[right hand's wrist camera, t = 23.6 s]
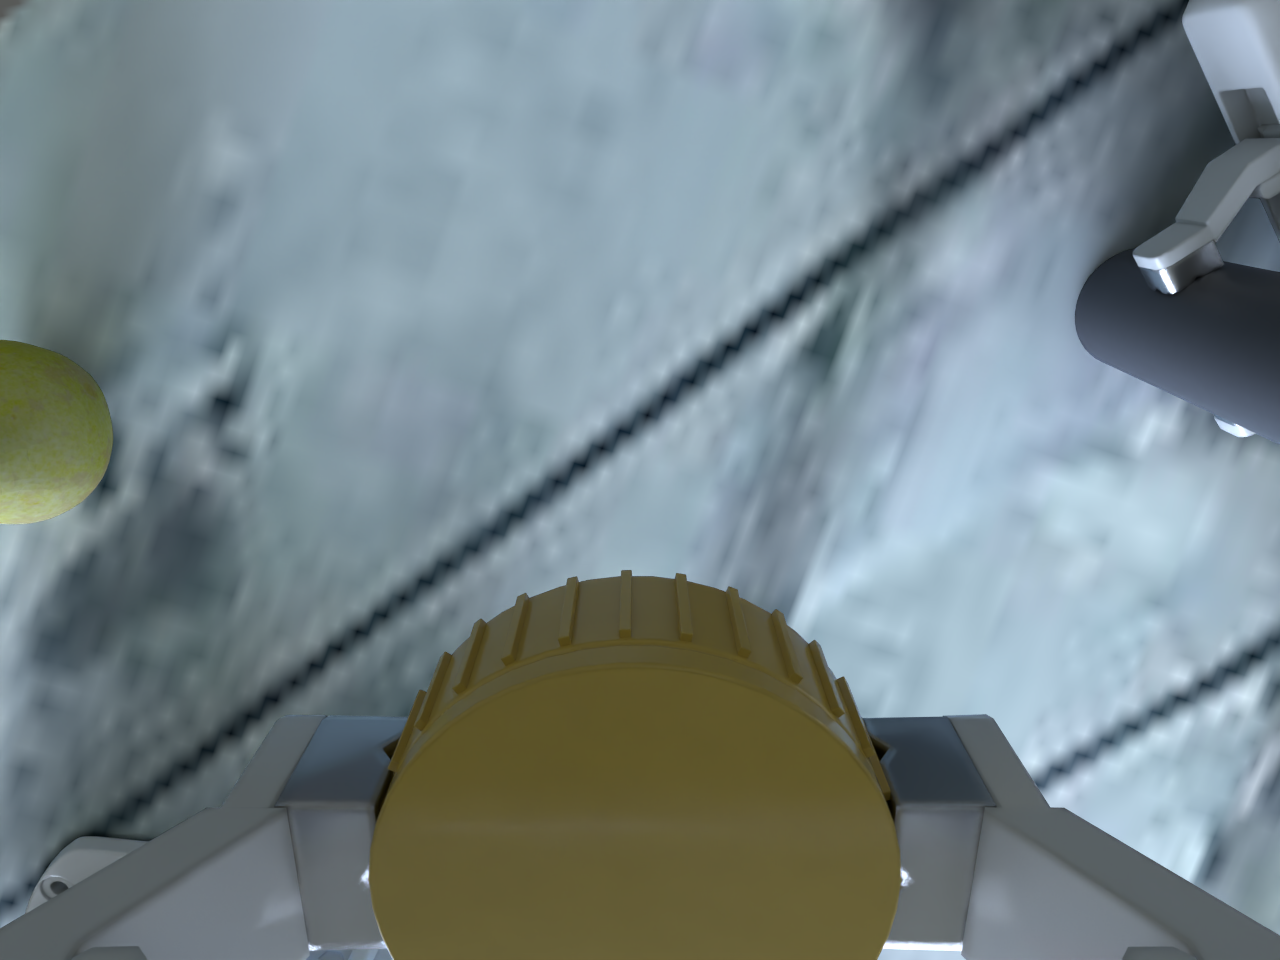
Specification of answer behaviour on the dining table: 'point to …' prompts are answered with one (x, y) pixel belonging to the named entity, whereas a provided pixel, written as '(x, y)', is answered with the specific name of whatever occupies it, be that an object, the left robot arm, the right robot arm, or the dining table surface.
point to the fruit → (48, 433)
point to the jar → (1192, 337)
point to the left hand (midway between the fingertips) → (1186, 348)
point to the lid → (635, 790)
